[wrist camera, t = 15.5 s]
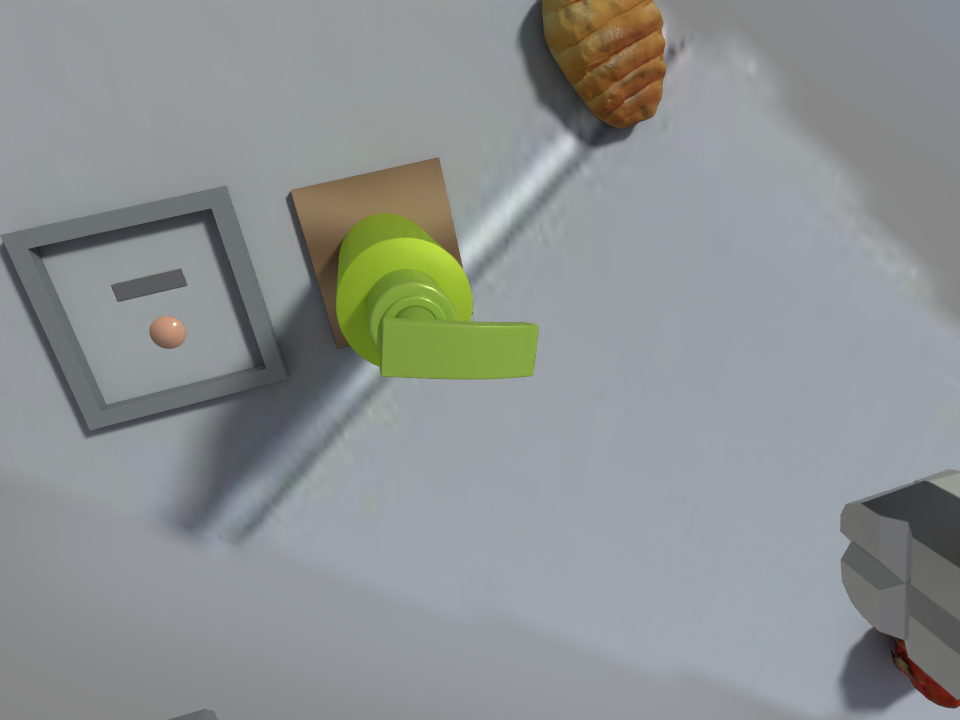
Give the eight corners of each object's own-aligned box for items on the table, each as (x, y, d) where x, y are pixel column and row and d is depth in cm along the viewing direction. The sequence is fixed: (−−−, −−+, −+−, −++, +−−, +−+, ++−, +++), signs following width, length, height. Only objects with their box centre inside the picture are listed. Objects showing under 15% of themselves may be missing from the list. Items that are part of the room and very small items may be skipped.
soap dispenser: (446, 309, 41) (531, 434, 22) (338, 305, 40) (330, 434, 21) (453, 217, 39) (550, 269, 21) (339, 209, 38) (334, 256, 19)
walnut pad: (291, 190, 38) (290, 190, 37) (438, 157, 39) (438, 157, 38) (337, 346, 41) (337, 348, 40) (471, 312, 42) (472, 314, 42)
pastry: (675, 98, 41) (707, 93, 37) (585, 149, 41) (607, 149, 37) (621, -54, 37) (649, -76, 34) (522, 1, 37) (540, -16, 34)
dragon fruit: (865, 586, 59) (922, 618, 65) (864, 684, 56) (924, 710, 61) (974, 595, 53) (1028, 630, 58) (980, 708, 49) (1036, 734, 55)
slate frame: (9, 233, 35) (0, 235, 34) (226, 185, 37) (223, 186, 36) (95, 424, 39) (89, 430, 38) (288, 374, 41) (287, 379, 40)
